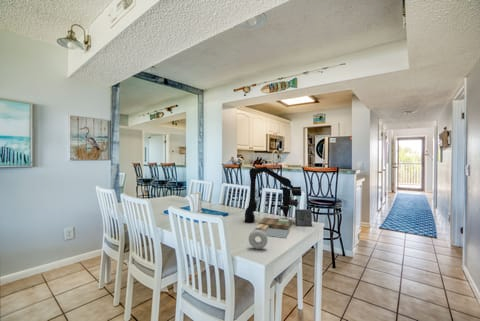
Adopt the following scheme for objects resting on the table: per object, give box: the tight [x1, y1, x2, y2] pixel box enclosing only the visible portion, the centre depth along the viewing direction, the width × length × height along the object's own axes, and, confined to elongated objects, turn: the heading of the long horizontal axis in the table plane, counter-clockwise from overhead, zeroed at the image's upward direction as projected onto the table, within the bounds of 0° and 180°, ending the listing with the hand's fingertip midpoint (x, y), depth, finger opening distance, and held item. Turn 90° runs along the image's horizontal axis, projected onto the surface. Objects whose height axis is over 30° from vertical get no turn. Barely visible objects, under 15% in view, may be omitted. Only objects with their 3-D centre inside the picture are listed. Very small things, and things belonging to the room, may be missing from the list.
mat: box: [252, 227, 290, 239], centre depth 145 cm, size 22×14×1 cm, turn 69°
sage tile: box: [278, 217, 291, 224], centre depth 158 cm, size 6×8×2 cm
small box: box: [294, 208, 313, 227], centre depth 161 cm, size 11×6×10 cm, turn 84°
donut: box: [248, 229, 269, 250], centre depth 120 cm, size 10×4×10 cm, turn 80°
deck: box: [258, 217, 292, 231], centre depth 159 cm, size 20×14×3 cm
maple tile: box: [255, 224, 269, 231], centre depth 151 cm, size 6×8×2 cm
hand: (286, 217), depth 167 cm, fingers closed
